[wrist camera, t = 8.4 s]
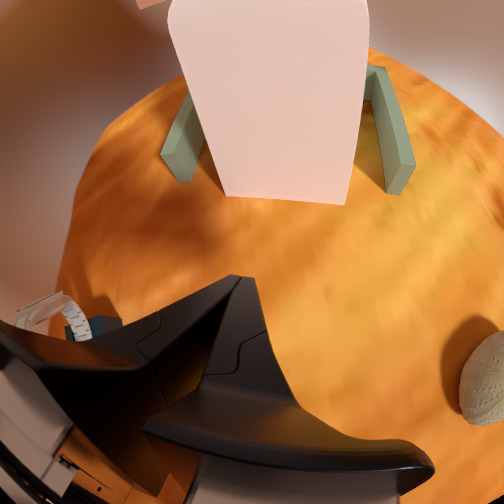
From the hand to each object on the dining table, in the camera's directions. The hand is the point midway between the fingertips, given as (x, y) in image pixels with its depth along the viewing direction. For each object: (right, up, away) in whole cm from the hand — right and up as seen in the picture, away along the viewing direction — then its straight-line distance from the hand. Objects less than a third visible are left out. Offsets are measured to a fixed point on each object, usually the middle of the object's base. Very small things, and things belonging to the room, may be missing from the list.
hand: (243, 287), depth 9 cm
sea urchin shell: (+23, -11, +7) cm, 27 cm away
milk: (+4, +12, +18) cm, 22 cm away
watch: (-15, -8, +14) cm, 22 cm away
